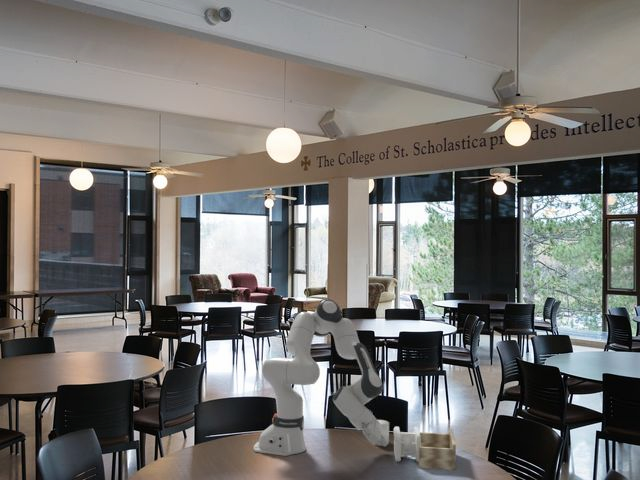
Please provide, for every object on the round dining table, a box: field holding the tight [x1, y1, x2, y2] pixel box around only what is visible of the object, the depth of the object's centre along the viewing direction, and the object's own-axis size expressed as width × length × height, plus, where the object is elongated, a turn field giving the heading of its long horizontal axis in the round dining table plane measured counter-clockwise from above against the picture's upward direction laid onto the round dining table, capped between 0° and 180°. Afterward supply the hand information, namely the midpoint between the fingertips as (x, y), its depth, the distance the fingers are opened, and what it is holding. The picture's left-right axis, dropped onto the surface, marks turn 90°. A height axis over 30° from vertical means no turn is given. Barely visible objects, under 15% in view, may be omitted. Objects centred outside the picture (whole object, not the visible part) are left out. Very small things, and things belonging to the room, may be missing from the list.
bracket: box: [418, 428, 457, 471], centre depth 251 cm, size 14×20×10 cm
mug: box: [376, 419, 390, 447], centre depth 274 cm, size 8×11×9 cm
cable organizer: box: [393, 426, 421, 463], centre depth 253 cm, size 15×11×12 cm
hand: (386, 444), depth 254 cm, fingers closed
